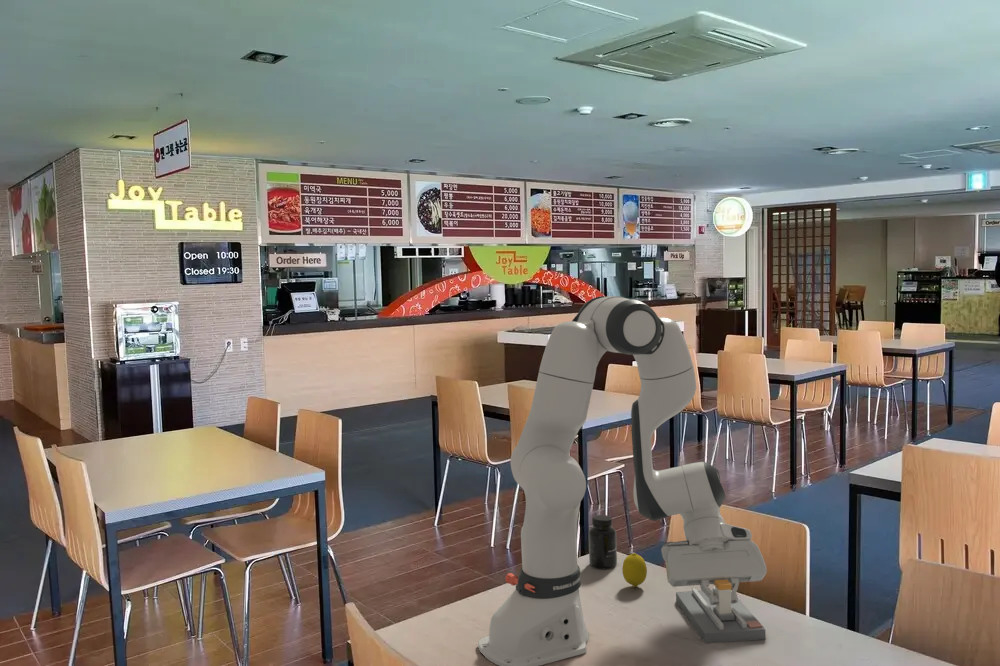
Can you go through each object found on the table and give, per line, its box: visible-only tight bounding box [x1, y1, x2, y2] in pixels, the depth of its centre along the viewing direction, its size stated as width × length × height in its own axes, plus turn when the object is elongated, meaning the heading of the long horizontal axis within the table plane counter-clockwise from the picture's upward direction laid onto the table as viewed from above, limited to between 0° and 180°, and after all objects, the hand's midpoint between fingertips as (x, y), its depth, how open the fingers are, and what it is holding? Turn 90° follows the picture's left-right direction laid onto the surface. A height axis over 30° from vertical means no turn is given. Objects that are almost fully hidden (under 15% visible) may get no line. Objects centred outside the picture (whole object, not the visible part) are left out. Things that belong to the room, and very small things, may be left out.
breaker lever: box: [713, 579, 734, 621], centre depth 159 cm, size 4×3×7 cm
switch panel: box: [675, 586, 766, 644], centre depth 163 cm, size 20×12×3 cm, turn 3°
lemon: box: [621, 552, 648, 588], centre depth 181 cm, size 6×6×8 cm
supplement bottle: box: [588, 514, 618, 570], centre depth 195 cm, size 7×7×12 cm
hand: (724, 603), depth 158 cm, fingers closed on breaker lever, 2 cm apart
